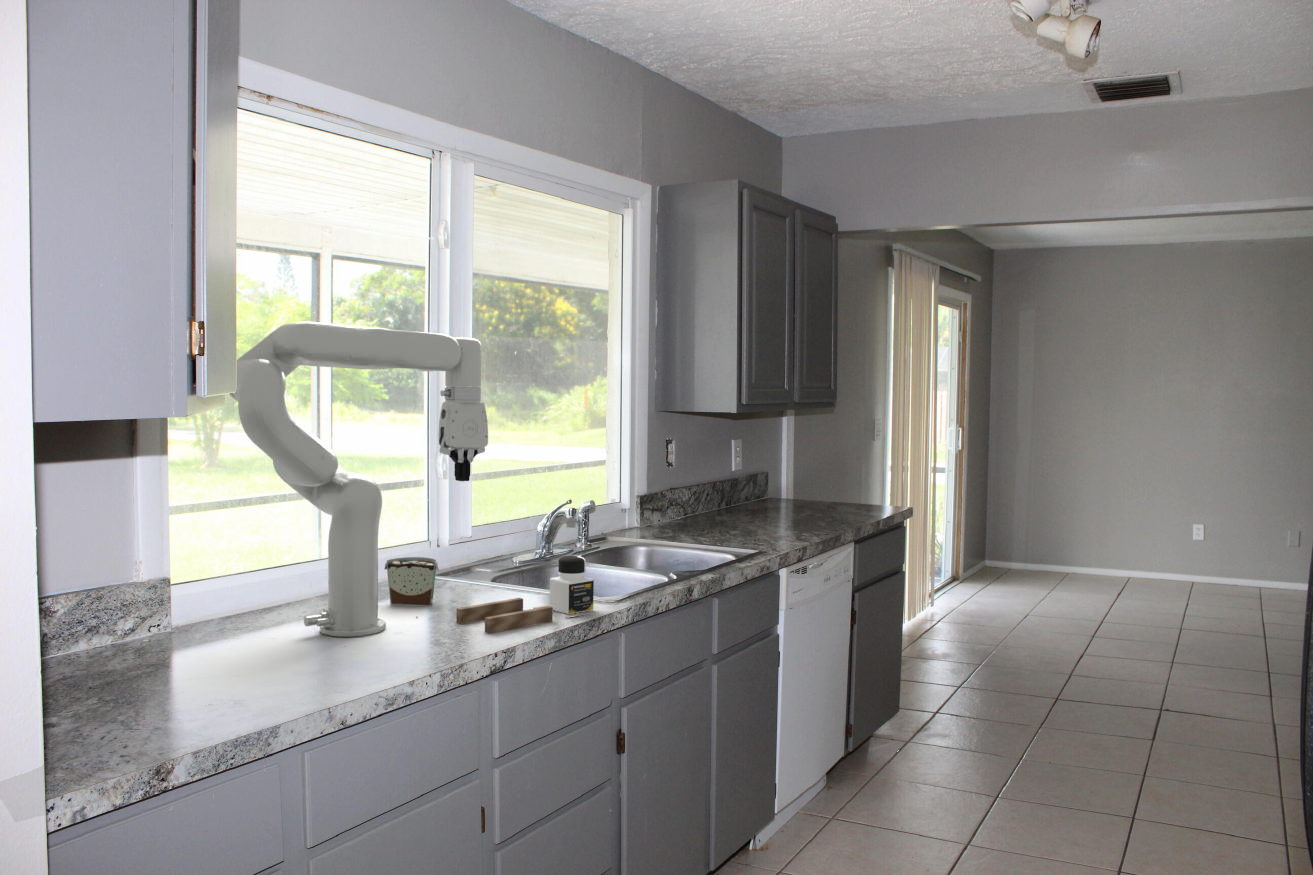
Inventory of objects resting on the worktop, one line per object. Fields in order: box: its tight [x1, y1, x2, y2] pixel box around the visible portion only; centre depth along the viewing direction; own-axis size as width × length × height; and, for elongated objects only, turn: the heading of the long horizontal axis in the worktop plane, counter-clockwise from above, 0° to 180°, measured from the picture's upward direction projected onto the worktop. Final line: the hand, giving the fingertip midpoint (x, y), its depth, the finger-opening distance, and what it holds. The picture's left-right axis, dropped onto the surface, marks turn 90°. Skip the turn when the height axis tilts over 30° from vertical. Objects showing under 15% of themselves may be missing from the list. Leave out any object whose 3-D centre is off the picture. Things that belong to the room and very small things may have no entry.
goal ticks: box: [533, 604, 590, 619], centre depth 211 cm, size 6×12×1 cm, turn 44°
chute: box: [455, 597, 554, 635], centre depth 200 cm, size 16×12×3 cm
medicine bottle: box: [549, 555, 595, 615], centre depth 212 cm, size 7×7×12 cm
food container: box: [384, 556, 440, 607], centre depth 217 cm, size 12×6×10 cm, turn 84°
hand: (462, 480), depth 205 cm, fingers closed
